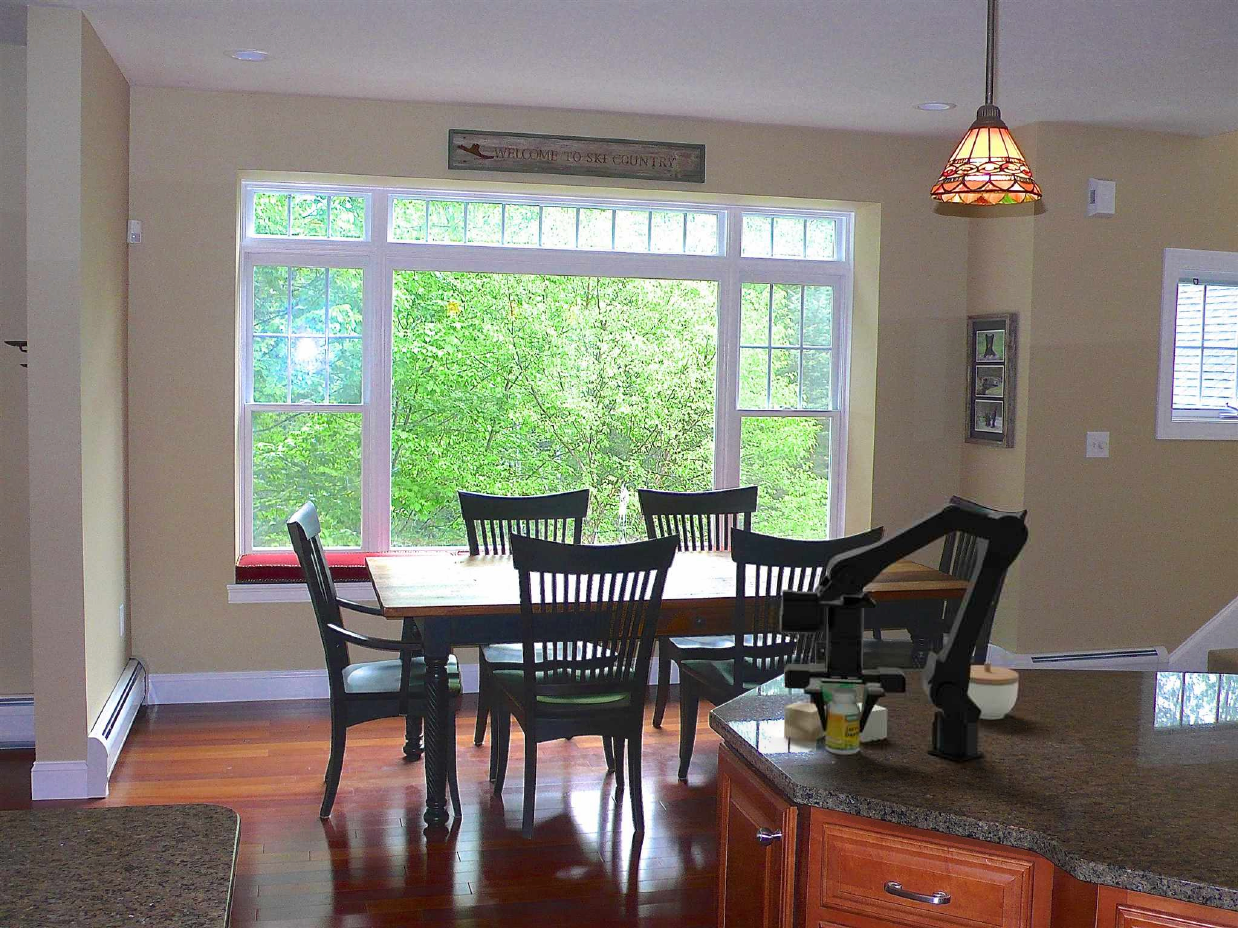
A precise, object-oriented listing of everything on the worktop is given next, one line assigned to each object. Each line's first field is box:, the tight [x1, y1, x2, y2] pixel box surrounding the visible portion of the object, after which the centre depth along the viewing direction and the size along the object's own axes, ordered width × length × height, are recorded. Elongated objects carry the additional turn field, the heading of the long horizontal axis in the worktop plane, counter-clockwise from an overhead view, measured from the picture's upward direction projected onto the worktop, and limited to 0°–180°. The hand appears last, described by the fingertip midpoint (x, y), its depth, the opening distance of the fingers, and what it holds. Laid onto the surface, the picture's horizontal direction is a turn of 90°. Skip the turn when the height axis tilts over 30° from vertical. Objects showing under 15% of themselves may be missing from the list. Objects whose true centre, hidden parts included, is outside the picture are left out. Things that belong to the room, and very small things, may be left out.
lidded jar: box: [967, 661, 1020, 720], centre depth 207 cm, size 11×11×9 cm
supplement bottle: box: [825, 688, 860, 756], centre depth 186 cm, size 5×5×10 cm
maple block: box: [783, 700, 826, 743], centre depth 193 cm, size 5×5×5 cm
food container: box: [809, 662, 856, 706], centre depth 206 cm, size 12×6×10 cm, turn 143°
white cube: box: [855, 702, 888, 743], centre depth 194 cm, size 5×5×5 cm
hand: (842, 731), depth 186 cm, fingers closed on supplement bottle, 5 cm apart
